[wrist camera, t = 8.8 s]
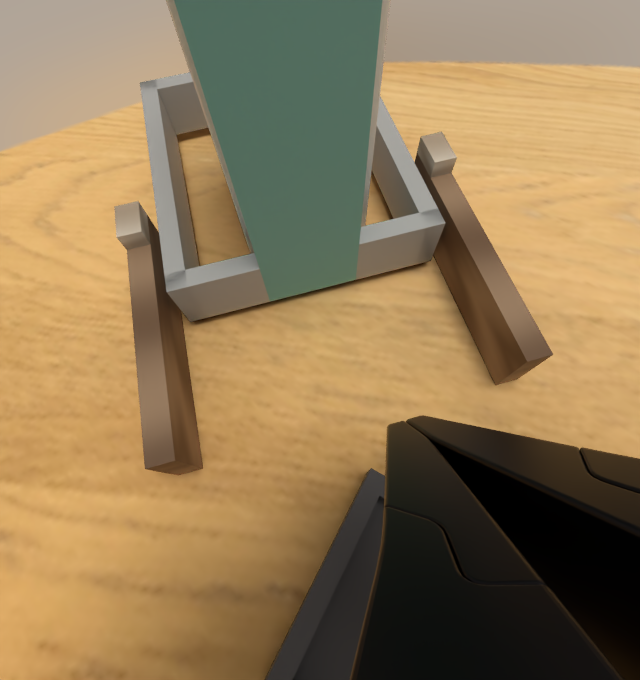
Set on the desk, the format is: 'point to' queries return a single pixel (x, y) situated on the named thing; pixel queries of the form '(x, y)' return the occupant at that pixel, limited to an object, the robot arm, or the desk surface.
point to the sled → (285, 152)
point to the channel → (452, 258)
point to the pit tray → (337, 596)
